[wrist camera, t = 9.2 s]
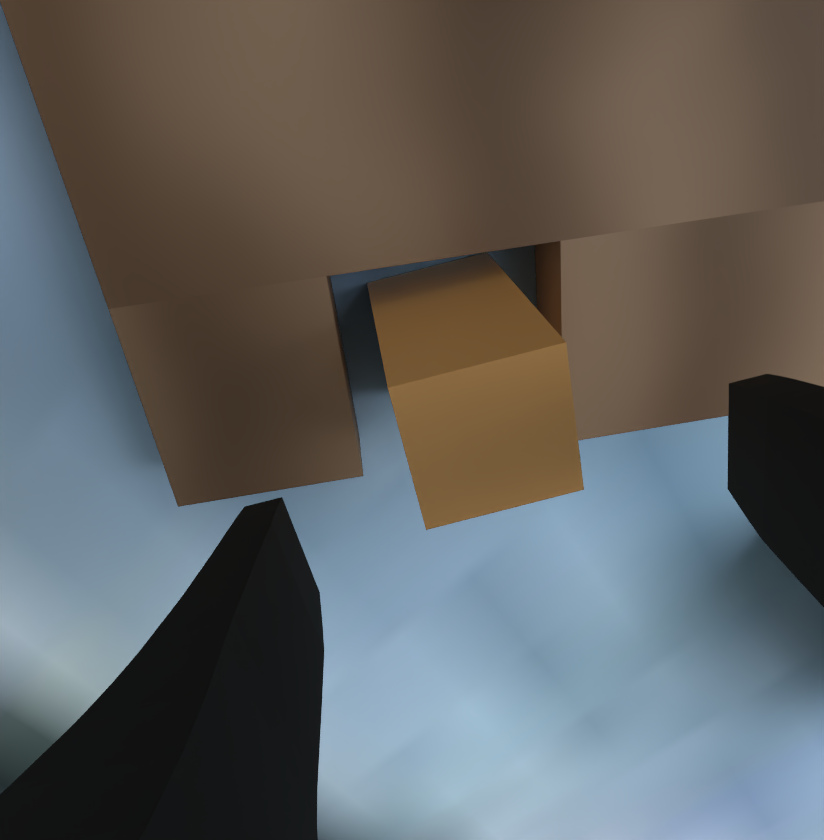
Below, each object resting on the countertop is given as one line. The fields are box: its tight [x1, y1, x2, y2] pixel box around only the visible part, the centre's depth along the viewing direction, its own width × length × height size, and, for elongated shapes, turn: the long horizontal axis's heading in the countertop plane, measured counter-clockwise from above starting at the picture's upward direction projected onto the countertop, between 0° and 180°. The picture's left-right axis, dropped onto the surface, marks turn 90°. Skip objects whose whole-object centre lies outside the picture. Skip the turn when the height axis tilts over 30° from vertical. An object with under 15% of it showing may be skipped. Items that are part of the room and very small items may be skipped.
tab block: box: [367, 252, 584, 530], centre depth 14 cm, size 3×3×6 cm
